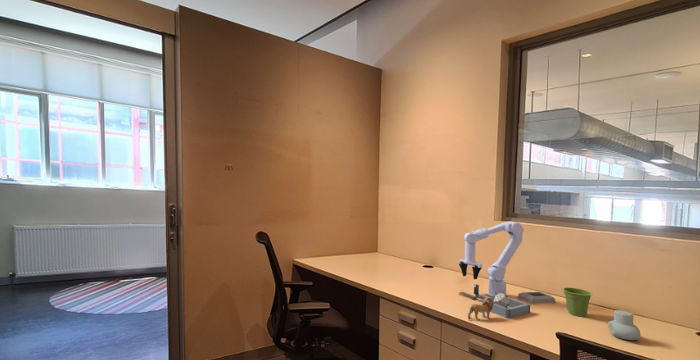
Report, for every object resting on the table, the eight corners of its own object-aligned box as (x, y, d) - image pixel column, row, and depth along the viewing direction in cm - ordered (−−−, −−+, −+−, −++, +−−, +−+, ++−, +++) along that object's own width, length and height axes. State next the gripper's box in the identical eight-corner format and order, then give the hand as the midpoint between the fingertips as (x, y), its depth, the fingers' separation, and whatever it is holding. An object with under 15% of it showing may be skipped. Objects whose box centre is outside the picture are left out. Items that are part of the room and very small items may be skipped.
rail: (462, 293, 178) (462, 291, 178) (477, 299, 169) (477, 296, 169) (458, 294, 177) (459, 292, 177) (473, 299, 168) (473, 297, 168)
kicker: (481, 296, 172) (481, 283, 172) (498, 303, 162) (499, 288, 163) (467, 299, 167) (467, 285, 167) (485, 306, 157) (485, 291, 157)
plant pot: (557, 311, 154) (557, 288, 155) (572, 308, 159) (572, 286, 159) (582, 320, 143) (582, 295, 144) (598, 317, 148) (597, 293, 149)
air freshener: (642, 345, 120) (642, 319, 120) (615, 340, 123) (615, 315, 124) (631, 334, 130) (631, 310, 130) (606, 330, 133) (606, 306, 134)
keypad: (518, 291, 175) (540, 290, 178) (518, 298, 174) (540, 297, 178) (531, 297, 165) (555, 296, 168) (531, 304, 165) (555, 303, 168)
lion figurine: (486, 314, 148) (486, 294, 148) (496, 318, 143) (496, 298, 143) (464, 318, 141) (464, 298, 142) (473, 322, 136) (473, 302, 137)
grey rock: (505, 317, 154) (516, 305, 149) (488, 310, 155) (499, 297, 150) (503, 303, 161) (513, 291, 156) (487, 296, 163) (497, 284, 157)
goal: (503, 303, 163) (503, 296, 163) (530, 312, 151) (530, 304, 151) (482, 308, 155) (482, 300, 155) (508, 318, 143) (508, 309, 143)
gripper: (455, 252, 184) (455, 275, 183) (475, 256, 171) (475, 281, 170) (463, 251, 187) (463, 274, 186) (484, 255, 174) (484, 280, 174)
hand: (469, 277), depth 178 cm, fingers open, 7 cm apart
